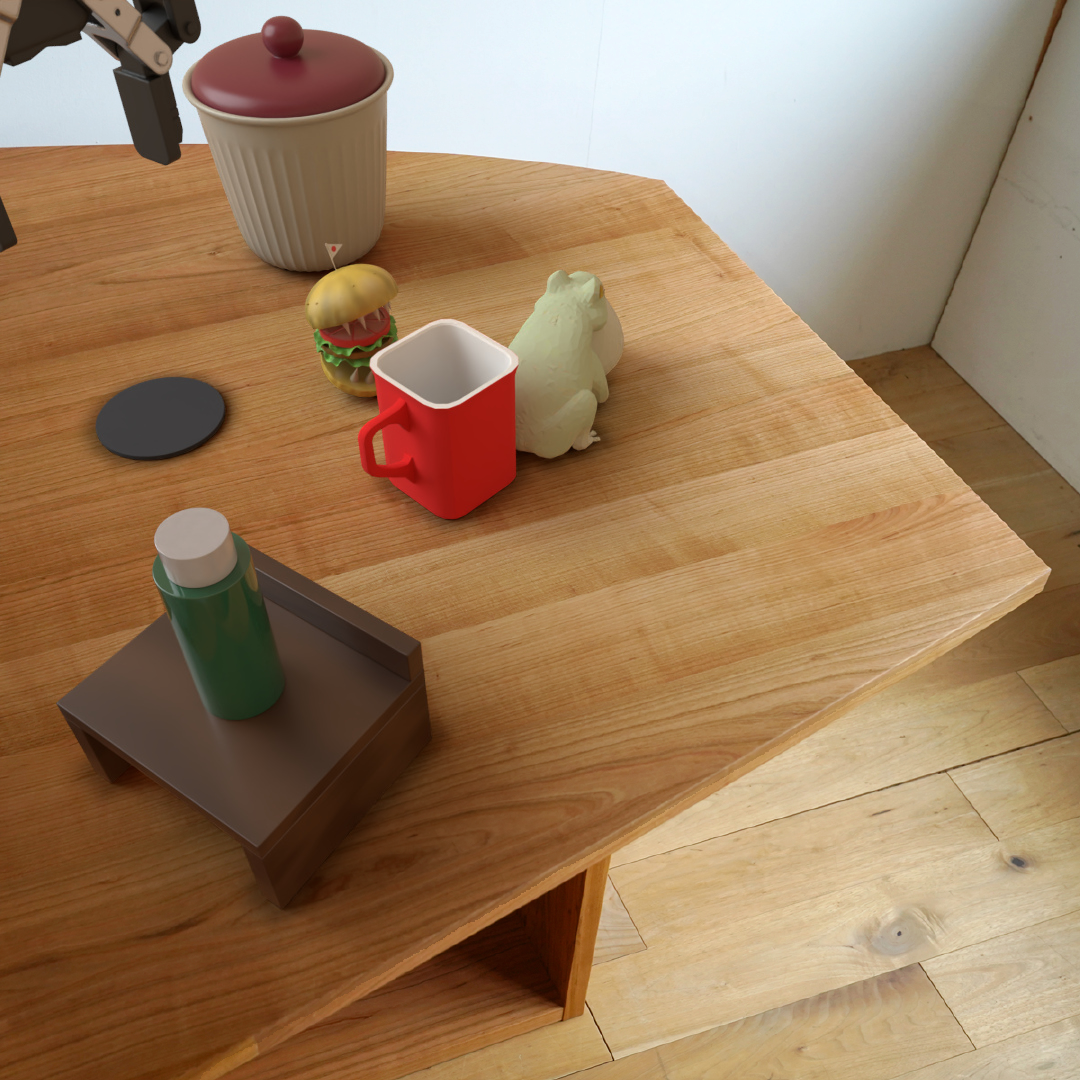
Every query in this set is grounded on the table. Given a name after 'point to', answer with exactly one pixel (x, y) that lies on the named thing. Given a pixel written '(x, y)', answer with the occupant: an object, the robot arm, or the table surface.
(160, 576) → the bottle
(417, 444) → the mug
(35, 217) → the table surface
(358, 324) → the hamburger
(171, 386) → the coaster
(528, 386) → the figurine
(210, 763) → the shelf
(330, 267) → the canister
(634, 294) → the table surface
